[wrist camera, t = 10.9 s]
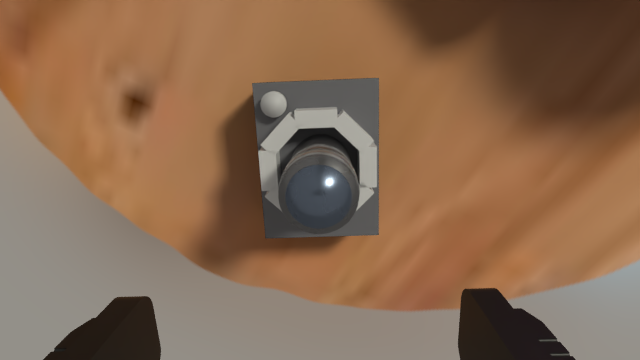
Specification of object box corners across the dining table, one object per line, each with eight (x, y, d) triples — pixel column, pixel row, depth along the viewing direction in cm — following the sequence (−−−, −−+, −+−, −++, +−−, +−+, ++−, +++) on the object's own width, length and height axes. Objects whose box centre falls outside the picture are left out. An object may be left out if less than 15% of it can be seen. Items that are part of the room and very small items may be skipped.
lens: (288, 134, 27) (272, 157, 19) (351, 131, 27) (360, 154, 19) (292, 193, 28) (279, 237, 21) (352, 191, 28) (361, 235, 20)
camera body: (263, 82, 31) (246, 83, 24) (370, 78, 31) (383, 78, 24) (273, 215, 34) (261, 249, 28) (371, 212, 34) (382, 245, 27)
